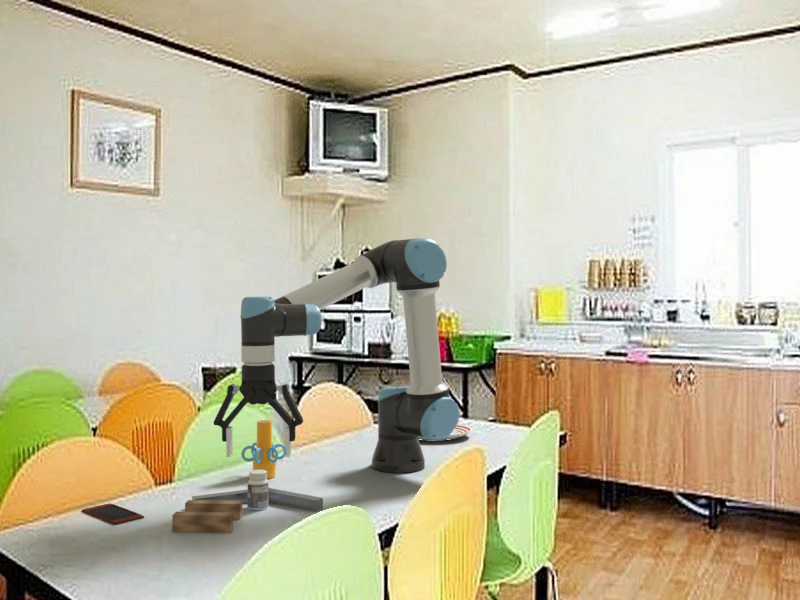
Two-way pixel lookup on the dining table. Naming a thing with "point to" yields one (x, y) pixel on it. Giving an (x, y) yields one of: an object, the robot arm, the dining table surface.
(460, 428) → the dinner plate
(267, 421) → the cylinder
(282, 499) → the v block
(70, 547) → the dining table surface
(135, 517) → the smartphone
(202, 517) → the wooden blocks
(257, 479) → the pill bottle
